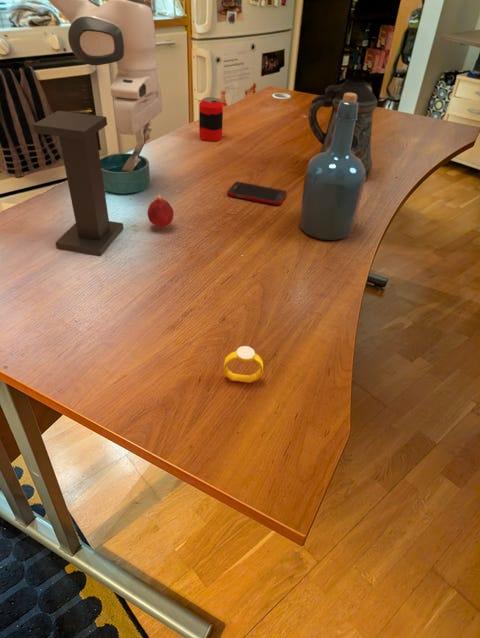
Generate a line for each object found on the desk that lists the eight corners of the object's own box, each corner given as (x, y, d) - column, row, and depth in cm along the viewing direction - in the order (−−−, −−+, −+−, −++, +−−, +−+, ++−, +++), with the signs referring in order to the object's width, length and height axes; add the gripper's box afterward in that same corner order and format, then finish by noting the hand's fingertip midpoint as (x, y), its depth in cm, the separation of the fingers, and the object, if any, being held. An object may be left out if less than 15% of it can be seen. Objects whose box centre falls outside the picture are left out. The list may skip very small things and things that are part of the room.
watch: (222, 384, 71) (223, 357, 67) (223, 371, 73) (225, 344, 69) (261, 387, 71) (264, 360, 67) (261, 374, 73) (264, 347, 69)
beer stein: (380, 181, 134) (404, 88, 118) (321, 187, 128) (338, 90, 112) (351, 159, 146) (369, 72, 130) (295, 165, 140) (308, 74, 124)
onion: (178, 226, 108) (177, 194, 103) (165, 236, 104) (163, 204, 98) (157, 219, 109) (155, 188, 104) (143, 230, 105) (140, 197, 100)
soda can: (205, 143, 150) (206, 104, 142) (195, 135, 155) (195, 97, 147) (226, 140, 153) (227, 101, 145) (215, 133, 158) (216, 95, 150)
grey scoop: (141, 128, 109) (149, 134, 109) (151, 119, 114) (160, 125, 115) (116, 181, 119) (124, 187, 120) (126, 171, 124) (134, 176, 125)
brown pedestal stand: (56, 248, 98) (27, 127, 81) (83, 222, 107) (62, 108, 90) (100, 256, 96) (80, 134, 80) (123, 228, 105) (109, 114, 89)
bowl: (91, 191, 119) (87, 168, 115) (112, 172, 129) (109, 150, 125) (139, 198, 117) (137, 176, 113) (157, 178, 127) (156, 157, 123)
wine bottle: (349, 247, 104) (382, 107, 85) (292, 236, 107) (312, 97, 88) (355, 220, 115) (386, 90, 95) (303, 210, 117) (323, 81, 98)
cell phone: (279, 206, 118) (280, 203, 117) (226, 195, 121) (226, 192, 120) (287, 194, 123) (287, 191, 123) (235, 184, 127) (235, 181, 126)
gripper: (142, 69, 114) (146, 127, 123) (106, 90, 98) (114, 154, 107) (166, 72, 113) (169, 130, 122) (134, 93, 97) (140, 157, 106)
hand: (143, 141), depth 114 cm, fingers closed on grey scoop, 1 cm apart
